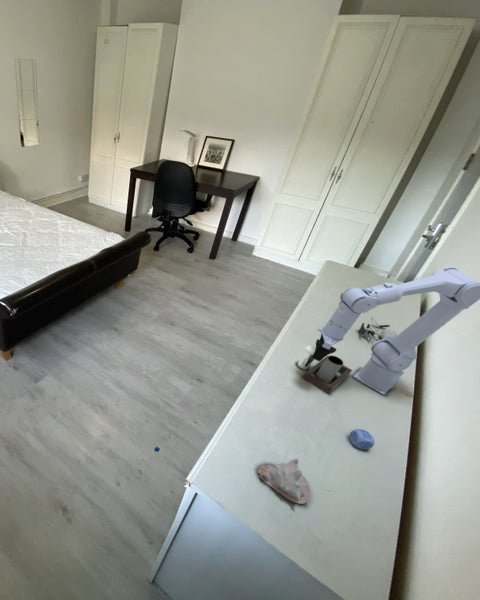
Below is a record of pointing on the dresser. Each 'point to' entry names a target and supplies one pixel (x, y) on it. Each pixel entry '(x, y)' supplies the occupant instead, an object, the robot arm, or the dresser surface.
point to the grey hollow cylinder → (329, 368)
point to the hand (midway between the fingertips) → (318, 353)
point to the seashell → (286, 480)
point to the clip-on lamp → (371, 333)
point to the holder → (322, 383)
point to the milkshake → (306, 357)
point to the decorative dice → (361, 439)
